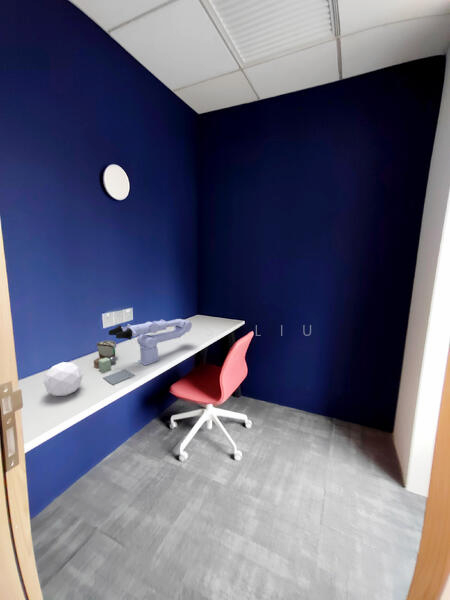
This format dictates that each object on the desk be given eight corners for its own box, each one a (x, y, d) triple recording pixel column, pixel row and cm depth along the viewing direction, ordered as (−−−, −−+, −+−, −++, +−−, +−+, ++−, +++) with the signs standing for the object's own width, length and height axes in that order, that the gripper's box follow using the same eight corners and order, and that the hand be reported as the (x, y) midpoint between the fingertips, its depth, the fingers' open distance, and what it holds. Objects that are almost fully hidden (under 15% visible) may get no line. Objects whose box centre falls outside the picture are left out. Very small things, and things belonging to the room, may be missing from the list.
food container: (122, 357, 154) (120, 341, 151) (115, 361, 148) (113, 345, 146) (105, 354, 157) (103, 339, 155) (97, 358, 151) (96, 342, 149)
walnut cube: (100, 364, 144) (100, 357, 143) (105, 366, 142) (104, 359, 141) (94, 367, 141) (93, 360, 140) (98, 368, 139) (98, 362, 138)
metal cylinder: (113, 361, 147) (113, 355, 147) (117, 363, 145) (116, 357, 144) (106, 364, 144) (106, 357, 144) (110, 366, 142) (109, 359, 141)
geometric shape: (56, 405, 115) (34, 380, 113) (86, 381, 126) (65, 358, 124) (61, 403, 105) (36, 376, 103) (93, 377, 115) (71, 352, 113)
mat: (125, 369, 138) (125, 369, 138) (135, 375, 131) (135, 375, 131) (102, 378, 129) (102, 377, 128) (112, 385, 122) (112, 384, 122)
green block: (107, 367, 140) (106, 357, 139) (111, 369, 138) (110, 359, 136) (99, 370, 137) (98, 360, 136) (103, 372, 134) (102, 362, 133)
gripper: (129, 320, 144) (105, 324, 133) (144, 325, 135) (119, 329, 124) (129, 332, 145) (106, 337, 134) (144, 338, 136) (119, 343, 125)
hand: (112, 334), depth 129 cm, fingers open, 7 cm apart
